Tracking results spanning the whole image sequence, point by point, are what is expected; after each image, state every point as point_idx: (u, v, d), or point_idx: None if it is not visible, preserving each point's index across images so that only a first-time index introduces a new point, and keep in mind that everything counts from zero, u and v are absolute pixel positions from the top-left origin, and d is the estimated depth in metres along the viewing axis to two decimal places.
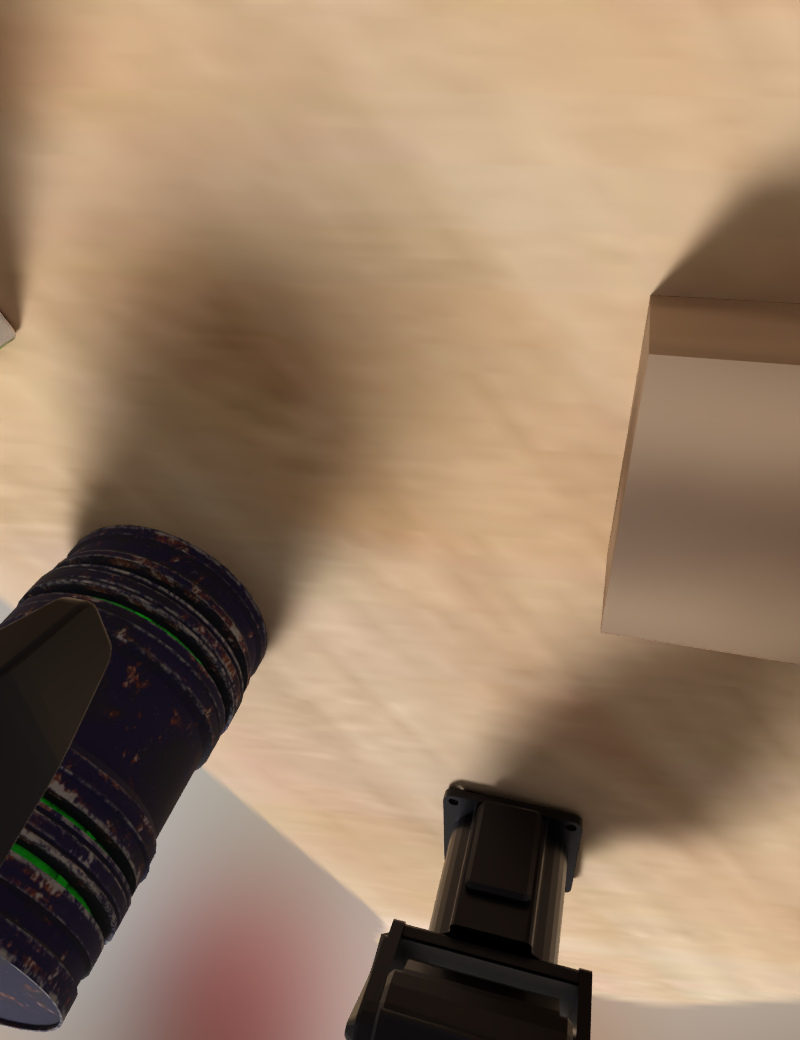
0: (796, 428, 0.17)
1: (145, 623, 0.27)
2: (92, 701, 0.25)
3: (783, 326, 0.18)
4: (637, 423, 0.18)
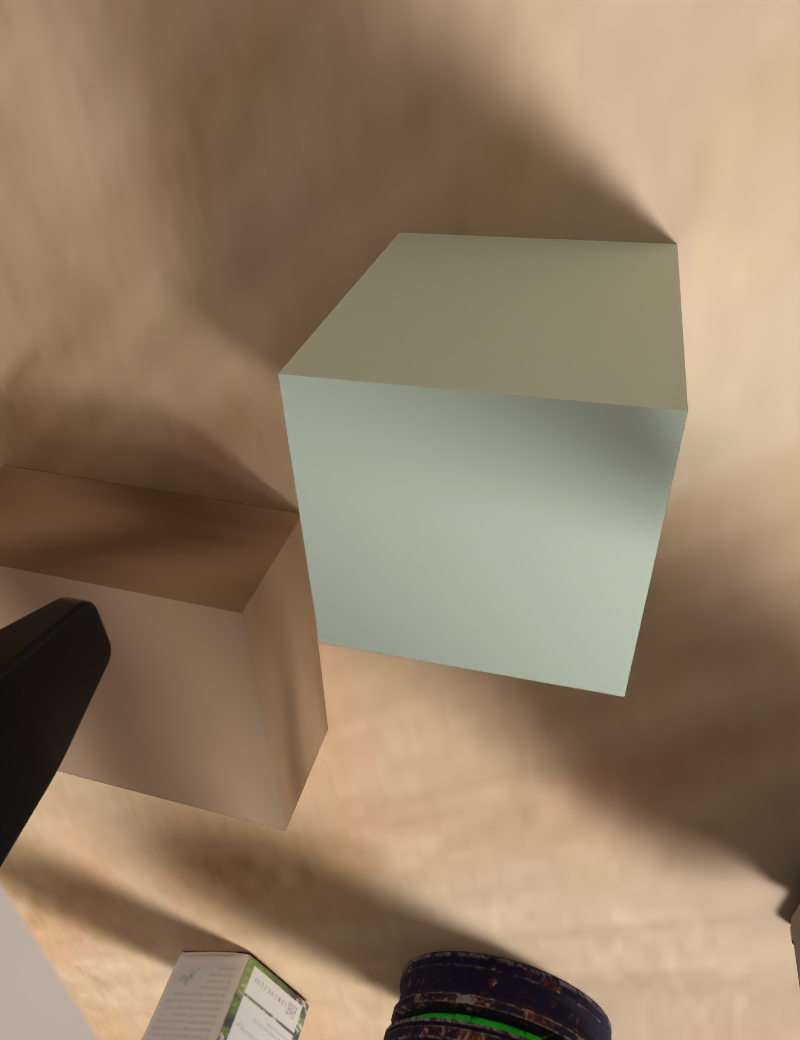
0: None
1: None
2: None
3: None
4: (73, 773, 0.23)
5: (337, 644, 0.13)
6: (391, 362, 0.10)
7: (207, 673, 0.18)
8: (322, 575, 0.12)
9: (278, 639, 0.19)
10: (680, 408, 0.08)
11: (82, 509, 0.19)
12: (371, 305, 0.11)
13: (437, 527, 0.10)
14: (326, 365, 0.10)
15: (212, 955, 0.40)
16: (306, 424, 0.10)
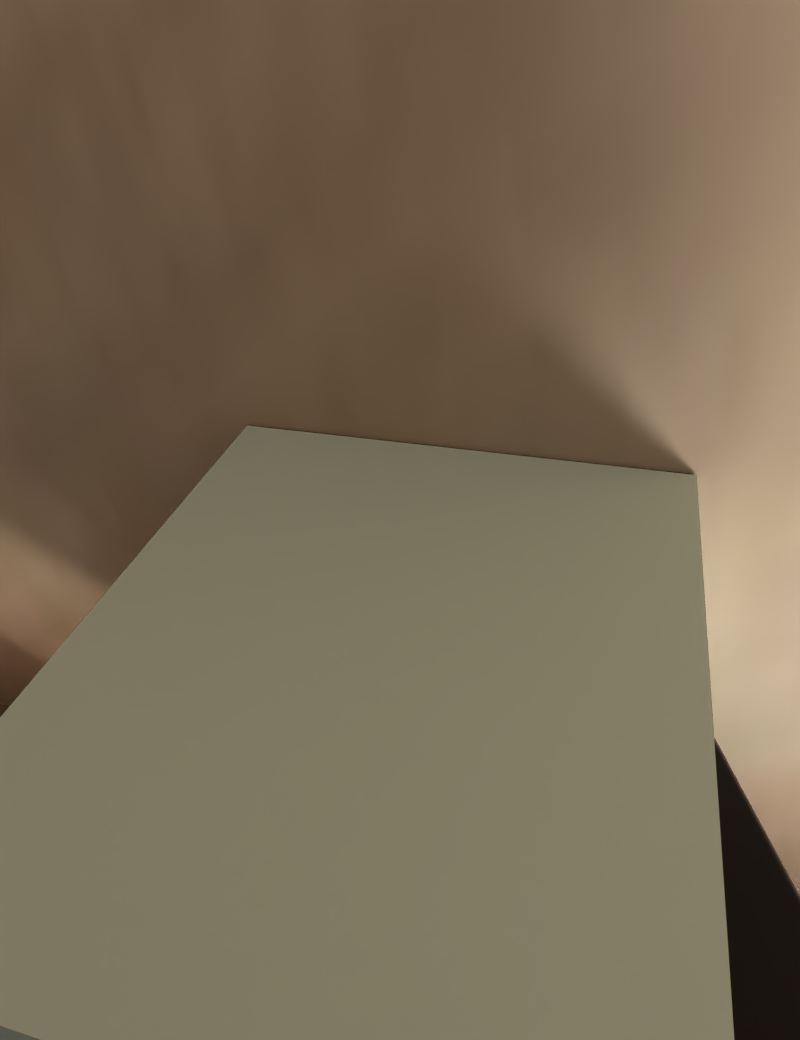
0: None
1: None
2: None
3: None
4: None
5: None
6: (67, 914, 0.04)
7: None
8: None
9: None
10: None
11: None
12: (116, 658, 0.06)
13: None
14: None
15: None
16: None
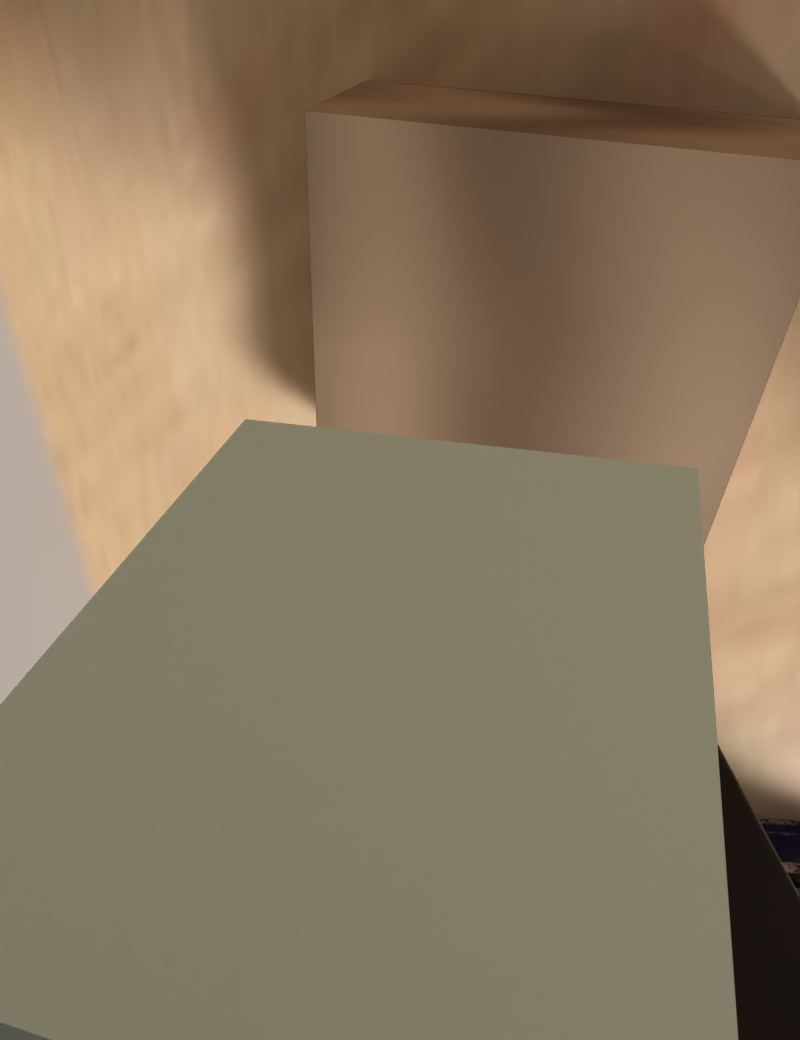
0: (380, 399, 0.16)
1: None
2: None
3: None
4: None
5: None
6: (62, 906, 0.04)
7: (718, 300, 0.13)
8: None
9: None
10: None
11: (514, 104, 0.14)
12: (113, 651, 0.06)
13: None
14: None
15: None
16: None
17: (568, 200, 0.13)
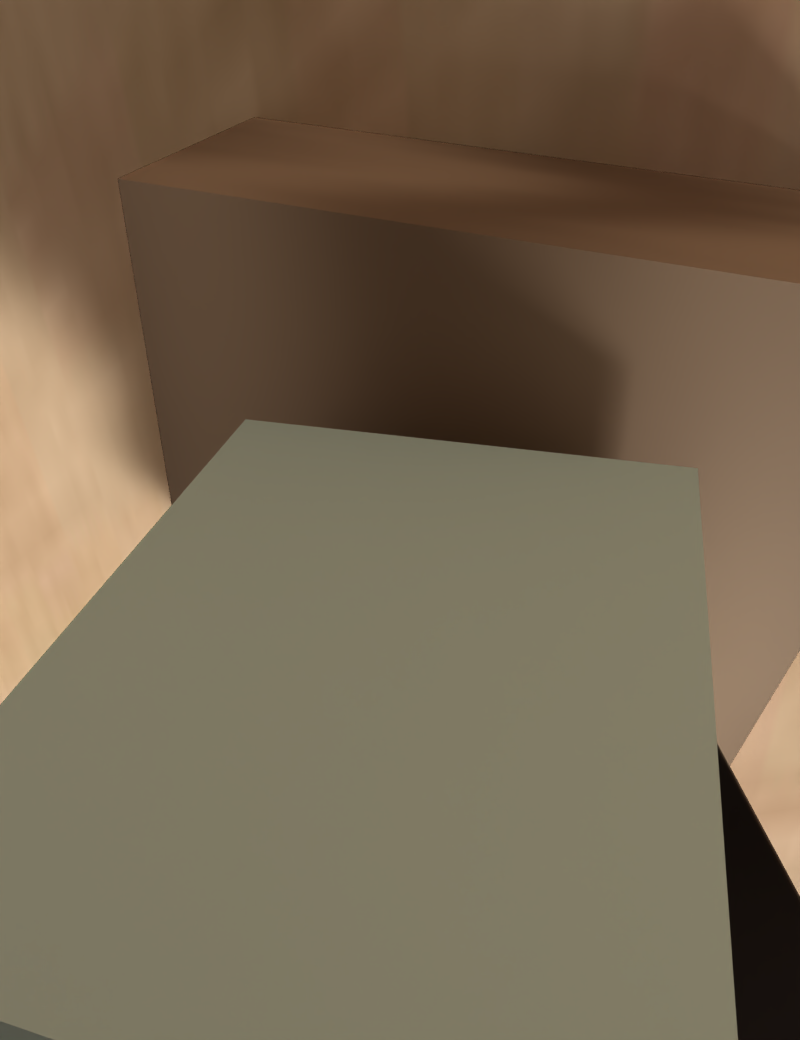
0: None
1: None
2: None
3: None
4: None
5: None
6: (62, 904, 0.04)
7: (761, 491, 0.09)
8: None
9: None
10: None
11: (457, 167, 0.10)
12: (113, 651, 0.06)
13: None
14: None
15: None
16: None
17: (531, 334, 0.08)
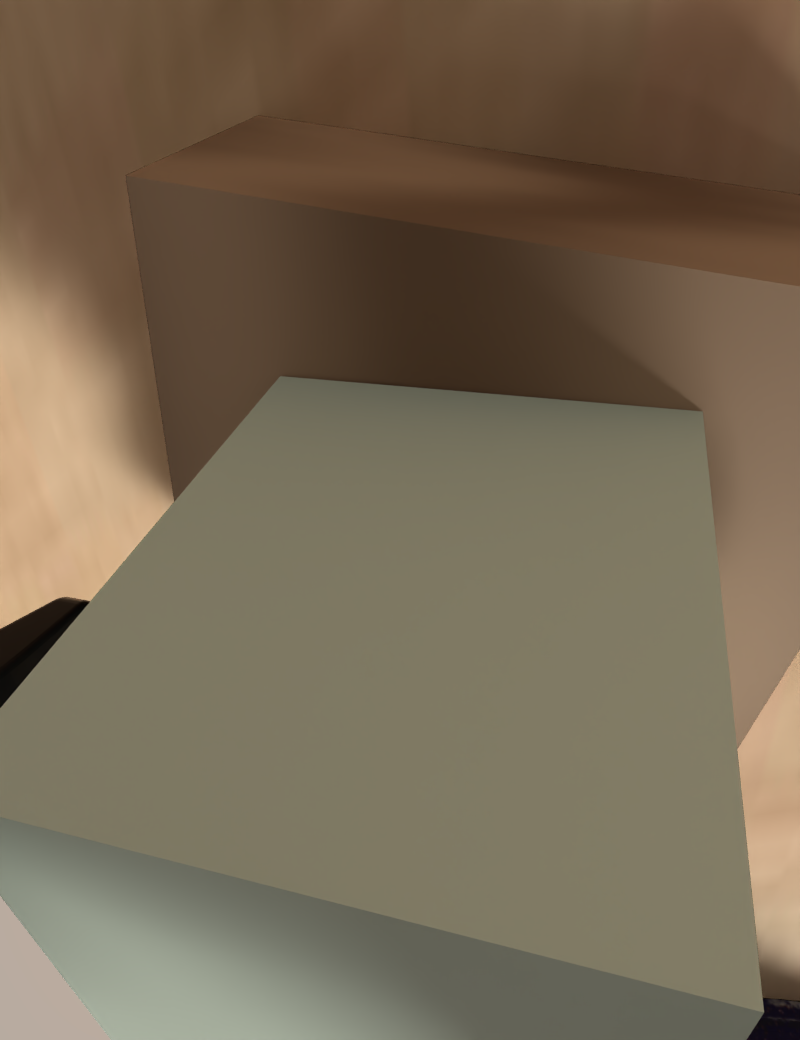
0: None
1: None
2: None
3: None
4: None
5: None
6: (157, 762, 0.05)
7: (764, 493, 0.09)
8: (108, 1013, 0.07)
9: None
10: (745, 997, 0.04)
11: (463, 168, 0.10)
12: (179, 567, 0.06)
13: (274, 1017, 0.06)
14: (31, 767, 0.05)
15: None
16: (5, 865, 0.05)
17: (537, 335, 0.08)
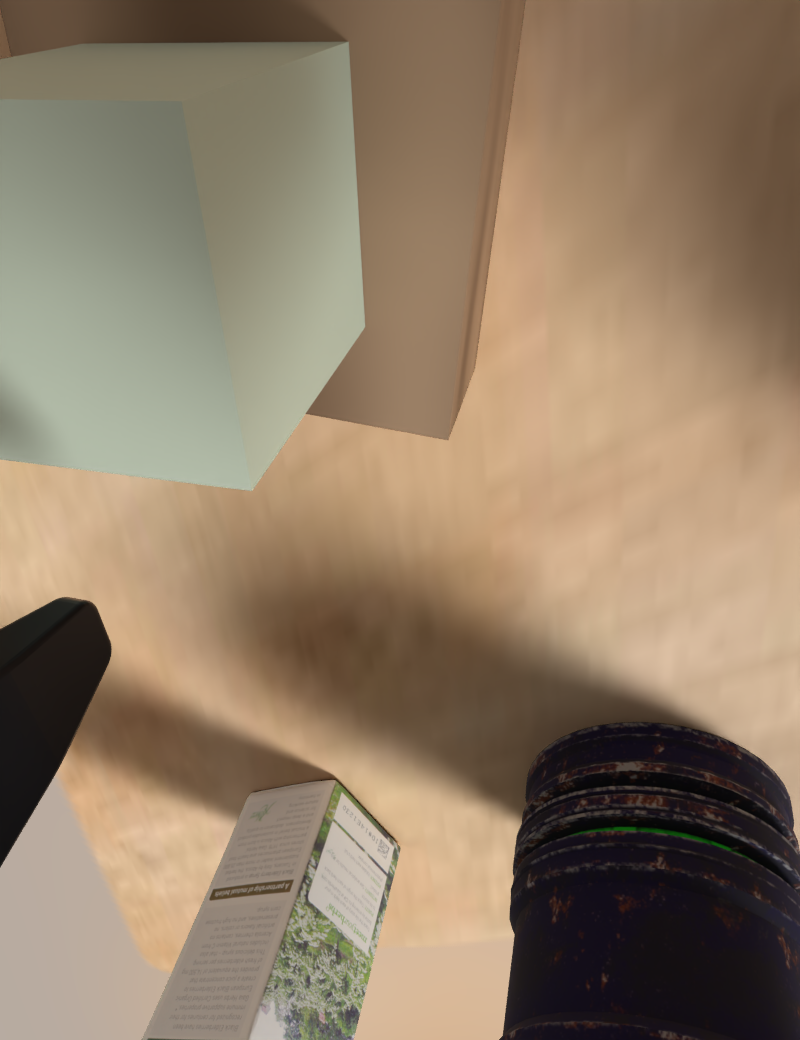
0: None
1: (539, 851, 0.25)
2: (538, 962, 0.22)
3: None
4: None
5: None
6: None
7: (414, 98, 0.13)
8: None
9: (500, 87, 0.13)
10: (176, 101, 0.08)
11: None
12: None
13: (11, 287, 0.10)
14: None
15: (288, 788, 0.34)
16: None
17: None
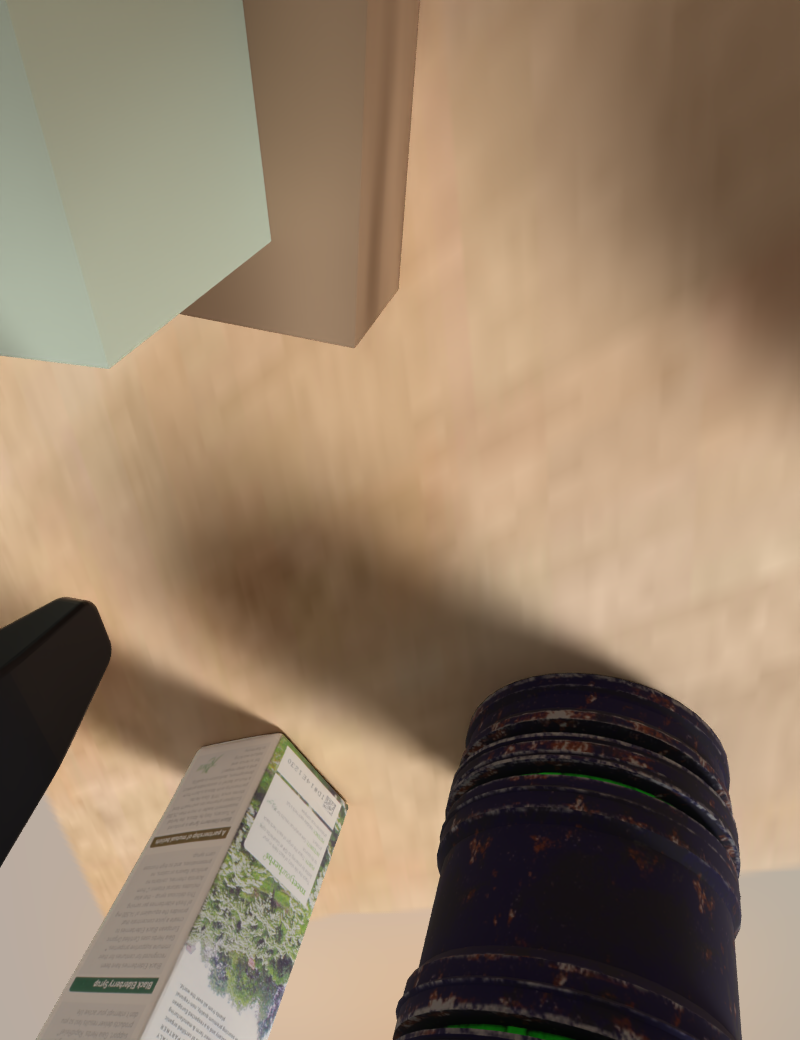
0: None
1: (465, 797, 0.25)
2: (453, 901, 0.22)
3: None
4: None
5: None
6: None
7: None
8: None
9: None
10: None
11: None
12: None
13: None
14: None
15: (237, 742, 0.34)
16: None
17: None
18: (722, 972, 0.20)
